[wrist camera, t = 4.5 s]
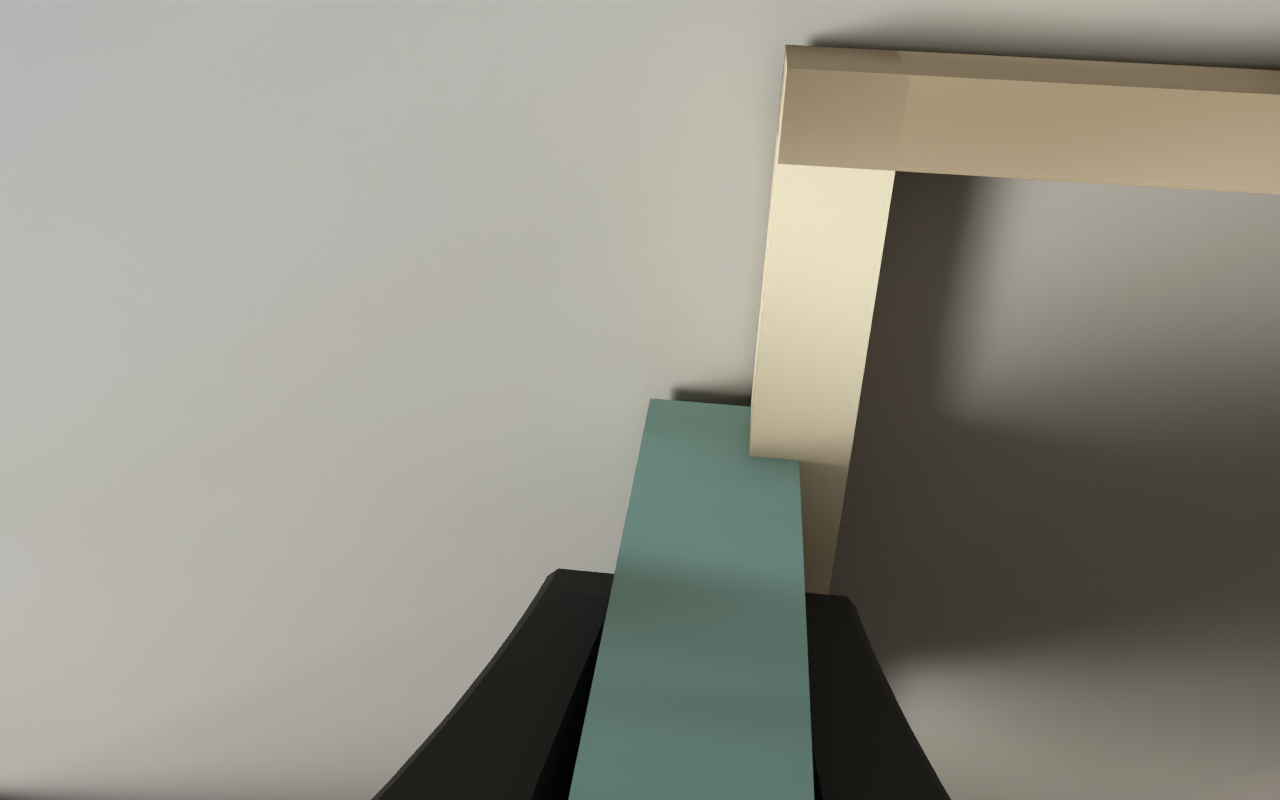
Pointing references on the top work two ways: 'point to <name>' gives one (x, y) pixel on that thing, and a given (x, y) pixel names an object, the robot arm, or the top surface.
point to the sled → (842, 385)
